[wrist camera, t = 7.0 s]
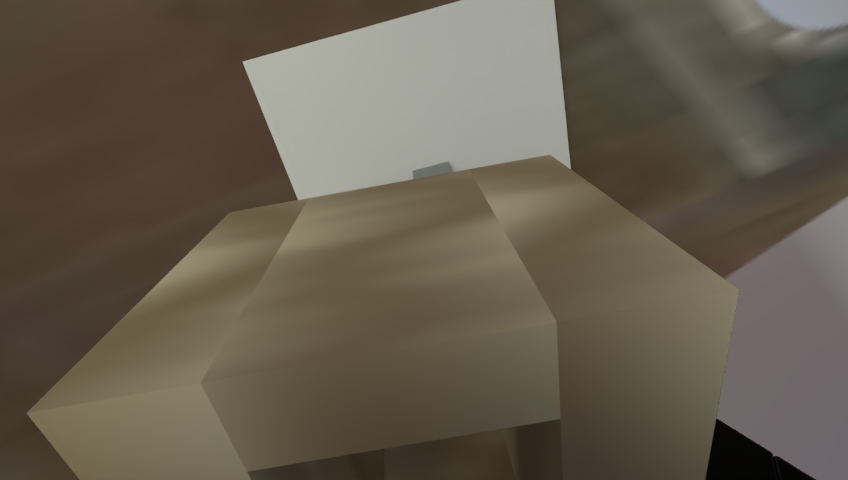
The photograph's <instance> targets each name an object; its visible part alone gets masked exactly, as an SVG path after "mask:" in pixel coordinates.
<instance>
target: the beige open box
mask: <svg viewBox="0 0 848 480" xmlns="http://www.w3.org/2000/svg"><path fill="white" fill-rule="evenodd" d="M738 295H739V289H737V288H735V287H734V286H733V285H732V284H730V283H729V282H727V281H726V280H725V279H723V278H722V277H720V276H719V275H718V274H716V273H715V272H713V271H712V270H711V269H709V268H708V267H706V266H705V265H704V264H702V263H701V262H699V261H698V260H697V259H695V258H694V257H692V256H691V255H690V254H688V253H687V252H686V251H684V250H683V249H681V248H680V247H679V246H677V245H676V244H674V243H673V242H672V241H670V240H669V239H667V238H666V237H665V236H663V235H662V234H660V233H659V232H658V231H656V230H655V229H653V228H652V227H651V226H649V225H648V224H646V223H645V222H644V221H642V220H641V219H639V218H638V217H637V216H635V215H634V214H632V213H631V212H630V211H628V210H627V209H625V208H624V207H623V206H621V205H620V204H618V203H617V202H616V201H614V200H613V199H611V198H610V197H609V196H607V195H606V194H604V193H603V192H602V191H600V190H599V189H597V188H596V187H595V186H593V185H592V184H590V183H589V182H588V181H586V180H585V179H583V178H582V177H581V176H579V175H578V174H576V173H575V172H574V171H572V170H571V169H569V168H568V167H567V166H565V165H564V164H562V163H561V162H560V161H558V160H557V159H555V158H554V157H553V156H551V155H545V156H539V157H534V158H528V159H523V160H517V161H512V162H506V163H501V164H495V165H490V166H484V167H478V168H473V169H467V170H462V171H456V172H451V173H445V174H440V175H434V176H429V177H423V178H418V179H412V180H407V181H401V182H396V183H390V184H384V185H379V186H373V187H368V188H362V189H357V190H351V191H346V192H340V193H335V194H329V195H324V196H318V197H313V198H307V199H302V200H296V201H290V202H285V203H279V204H274V205H268V206H263V207H257V208H252V209H246V210H241V211H235V212H230V213H229V214H228V215H227V216H226V217H225V218H224V219H223V220H222V221H221V222H220V223H219V224H218V225H217V226H216V227H215V228H214V229H213V230H212V231H211V232H210V233H208V234H207V235H206V236H205V237H204V238H203V239H202V240H201V241H200V242H199V243H198V244H197V245H196V246H195V247H194V248H193V249H192V250H191V251H190V252H189V253H188V254H187V255H186V256H185V257H184V258H183V259H182V260H181V261H180V262H179V263H178V264H177V265H176V266H175V267H174V268H173V269H172V270H171V271H170V272H169V273H168V274H167V275H166V276H165V277H164V278H163V279H162V280H161V281H160V282H159V283H158V284H157V285H156V286H155V287H154V288H153V289H152V290H151V291H150V292H149V293H148V294H147V295H146V296H145V297H144V298H143V299H142V300H141V301H140V302H139V303H138V304H137V305H136V306H135V307H134V308H133V309H132V310H131V311H130V312H129V313H128V314H126V315H125V316H124V317H123V318H122V319H121V320H120V321H119V322H118V323H117V324H116V325H115V326H114V327H113V328H112V329H111V330H110V331H109V332H108V333H107V334H106V335H105V336H104V337H103V338H102V339H101V340H100V341H99V342H98V343H97V344H96V345H95V346H94V347H93V348H92V349H91V350H90V351H89V352H88V353H87V354H86V355H85V356H84V357H83V358H82V359H81V360H80V361H79V362H78V363H77V364H76V365H75V366H74V367H73V368H72V369H71V370H70V371H69V372H68V373H67V374H66V375H65V376H64V377H63V378H62V379H61V380H60V381H59V382H58V383H57V384H56V385H55V386H54V387H53V388H52V389H51V390H50V391H49V392H48V393H47V394H46V395H45V396H43V397H42V398H41V399H40V400H39V401H38V402H37V403H36V404H35V405H34V406H33V407H32V408H31V409H30V410H29V411H28V412H27V414H28V415H29V417H30V418H31V419H32V420H33V422H34V423H35V424H36V425H37V427H38V428H39V429H40V430H41V432H42V433H43V434H44V435H45V437H46V438H47V439H48V441H49V442H50V443H51V444H52V446H53V447H54V448H55V449H56V451H57V452H58V453H59V454H60V456H61V457H62V458H63V459H64V461H65V462H66V463H67V464H68V466H69V467H70V468H71V469H72V471H73V472H74V473H75V474H76V476H77V477H78V478H79V480H705V478H706V472H707V467H708V461H709V456H710V450H711V445H712V439H713V434H714V428H715V422H716V416H717V411H718V406H719V400H720V395H721V389H722V384H723V378H724V373H725V367H726V362H727V356H728V350H729V345H730V339H731V334H732V328H733V323H734V317H735V312H736V306H737V301H738Z"/></svg>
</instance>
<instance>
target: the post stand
mask: <svg viewBox="0 0 848 480" xmlns="http://www.w3.org/2000/svg"><path fill="white" fill-rule="evenodd" d="M243 64H244V67H245V69H246V72H247V74H248V77H249V79H250V82H251V84H252V87H253V89H254V92H255V94H256V97H257V99H258V102H259V104H260V106H261V109H262V111H263V114H264V116H265V119H266V121H267V124H268V126H269V129H270V131H271V134H272V136H273V139H274V141H275V144H276V146H277V149H278V151H279V154H280V156H281V159H282V161H283V164H284V166H285V169H286V171H287V174H288V176H289V178H290V181H291V183H292V186H293V188H294V191H295V193H296V196H297V198H298V200H302V199H307V198H313V197H318V196H324V195H329V194H335V193H340V192H346V191H351V190H357V189H362V188H368V187H373V186H379V185H384V184H390V183H396V182H401V181H407V180H412V179H418V178H423V177H429V176H434V175H440V174H445V173H451V172H456V171H462V170H467V169H473V168H478V167H484V166H490V165H495V164H501V163H506V162H512V161H517V160H523V159H528V158H534V157H539V156H545V155H551V156H553V157H554V158H555V159H557V160H558V161H560V162H561V163H562V164H564V165H565V166H567V167H568V168H569V169H571V165H570V155H569V145H568V135H567V125H566V115H565V105H564V95H563V85H562V75H561V65H560V55H559V45H558V35H557V25H556V15H555V5H554V0H461V1H457V2H454V3H450V4H447V5H443V6H440V7H436V8H432V9H429V10H425V11H422V12H418V13H415V14H411V15H407V16H404V17H400V18H397V19H393V20H390V21H386V22H383V23H379V24H375V25H372V26H368V27H365V28H361V29H358V30H354V31H350V32H347V33H343V34H340V35H336V36H333V37H329V38H325V39H322V40H318V41H315V42H311V43H308V44H304V45H300V46H297V47H293V48H290V49H286V50H283V51H279V52H276V53H272V54H268V55H265V56H261V57H258V58H254V59H251V60H247V61H243Z"/></svg>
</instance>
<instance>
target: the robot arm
mask: <svg viewBox="0 0 848 480" xmlns="http://www.w3.org/2000/svg"><path fill="white" fill-rule="evenodd" d="M705 480H816V479H814V478H813V477H811V476H809V475H808V474H806V473H804V472H802V471H801V470H799V469H797V468H796V467H794V466H793V465H791V464H790V463H788V462H786V461H785V460H783V459H781V458H780V457H778V456H775V457H773V454H772V453H771V452H770V451H768V450H767V449H765V448H763V447H762V446H760V445H759V444H757V443H755V442H754V441H752V440H751V439H749V438H747V437H746V436H744V435H742V434H741V433H739V432H738V431H736V430H734V429H732V428H731V427H730V426H728V425H726V424H725V423H723V422H722V421H720V420H718V419H717V418H716V422H715V428H714V434H713V439H712V445H711V450H710V456H709V461H708V467H707V472H706V478H705Z"/></svg>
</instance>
